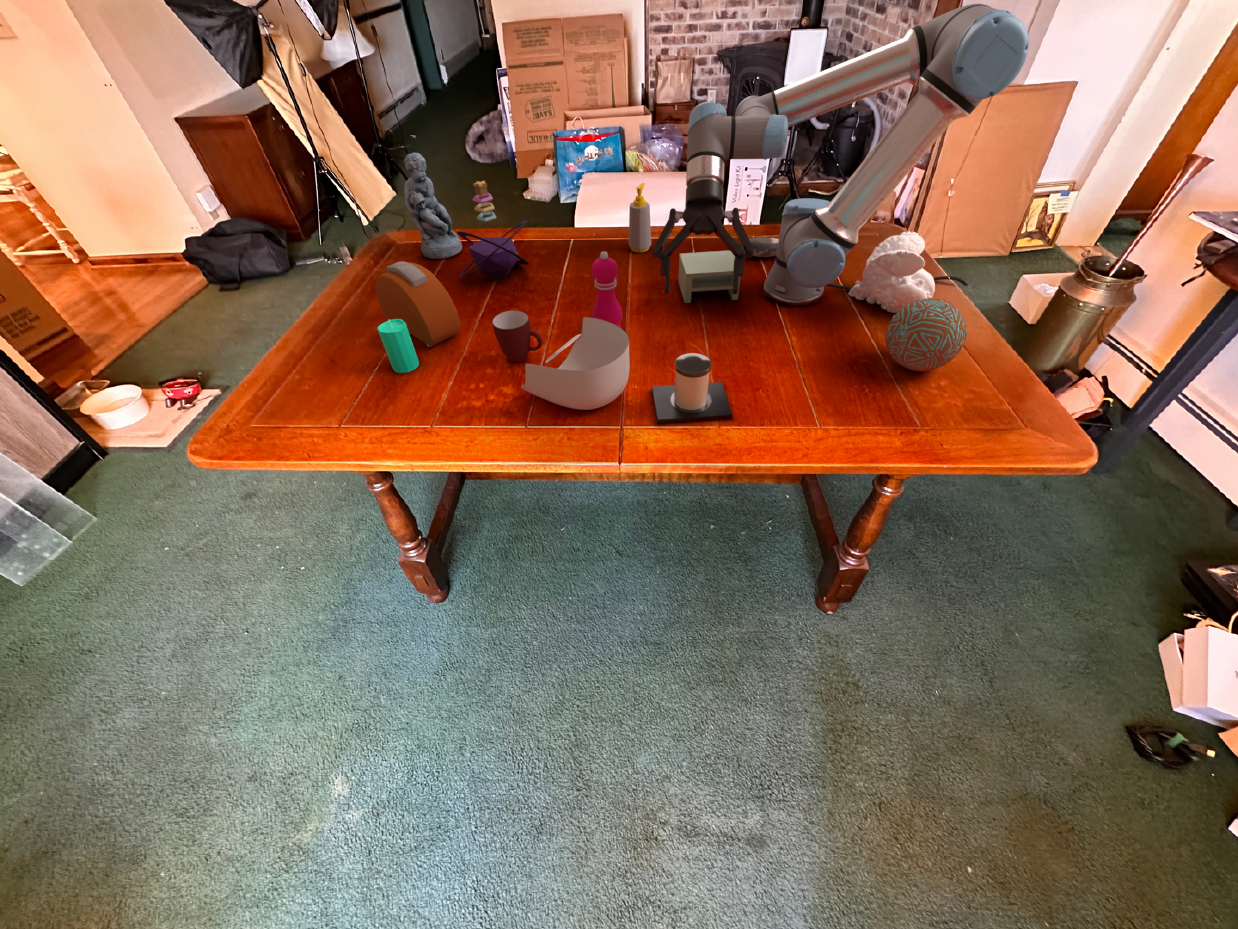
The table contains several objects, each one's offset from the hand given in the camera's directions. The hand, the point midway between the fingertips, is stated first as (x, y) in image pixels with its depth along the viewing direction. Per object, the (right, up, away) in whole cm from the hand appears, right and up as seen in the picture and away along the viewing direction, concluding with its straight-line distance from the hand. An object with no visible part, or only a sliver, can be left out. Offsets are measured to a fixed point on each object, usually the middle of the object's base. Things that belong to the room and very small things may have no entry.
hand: (700, 291), depth 112 cm
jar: (-2, -22, +2) cm, 22 cm away
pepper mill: (-19, -2, +25) cm, 31 cm away
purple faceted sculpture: (-51, +20, +48) cm, 73 cm away
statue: (-73, +32, +62) cm, 100 cm away
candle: (-66, -12, +17) cm, 69 cm away
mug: (-39, -10, +18) cm, 44 cm away
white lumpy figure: (+52, +7, +30) cm, 60 cm away
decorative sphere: (+48, -13, +10) cm, 51 cm away
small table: (+7, +12, +37) cm, 40 cm away
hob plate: (-2, -22, +3) cm, 23 cm away
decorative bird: (+29, +26, +50) cm, 64 cm away
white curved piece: (-24, -19, +8) cm, 31 cm away
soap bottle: (-10, +31, +58) cm, 66 cm away
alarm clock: (-66, -1, +28) cm, 72 cm away
